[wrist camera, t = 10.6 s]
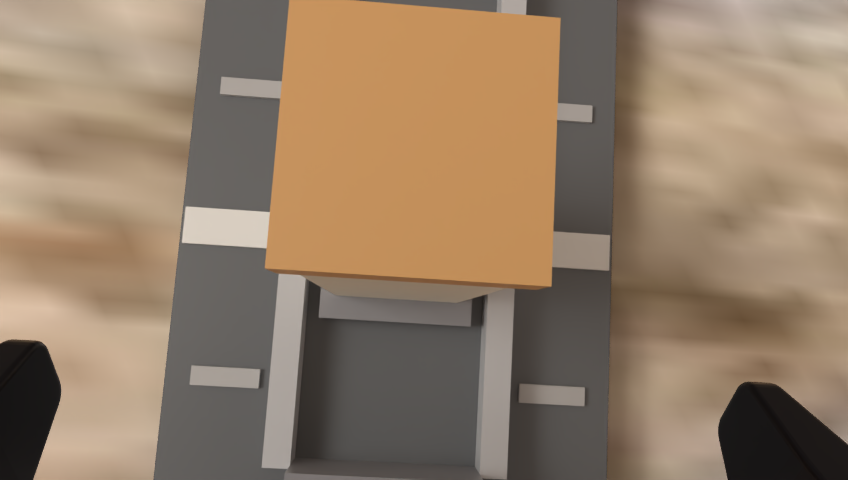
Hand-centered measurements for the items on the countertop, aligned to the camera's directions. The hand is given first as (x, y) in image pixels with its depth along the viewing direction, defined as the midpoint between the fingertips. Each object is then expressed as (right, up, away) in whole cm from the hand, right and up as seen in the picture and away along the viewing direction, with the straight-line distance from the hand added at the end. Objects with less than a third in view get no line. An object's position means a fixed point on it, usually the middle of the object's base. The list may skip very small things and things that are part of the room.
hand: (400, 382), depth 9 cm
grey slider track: (0, +5, +11) cm, 12 cm away
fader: (0, +2, +10) cm, 10 cm away
